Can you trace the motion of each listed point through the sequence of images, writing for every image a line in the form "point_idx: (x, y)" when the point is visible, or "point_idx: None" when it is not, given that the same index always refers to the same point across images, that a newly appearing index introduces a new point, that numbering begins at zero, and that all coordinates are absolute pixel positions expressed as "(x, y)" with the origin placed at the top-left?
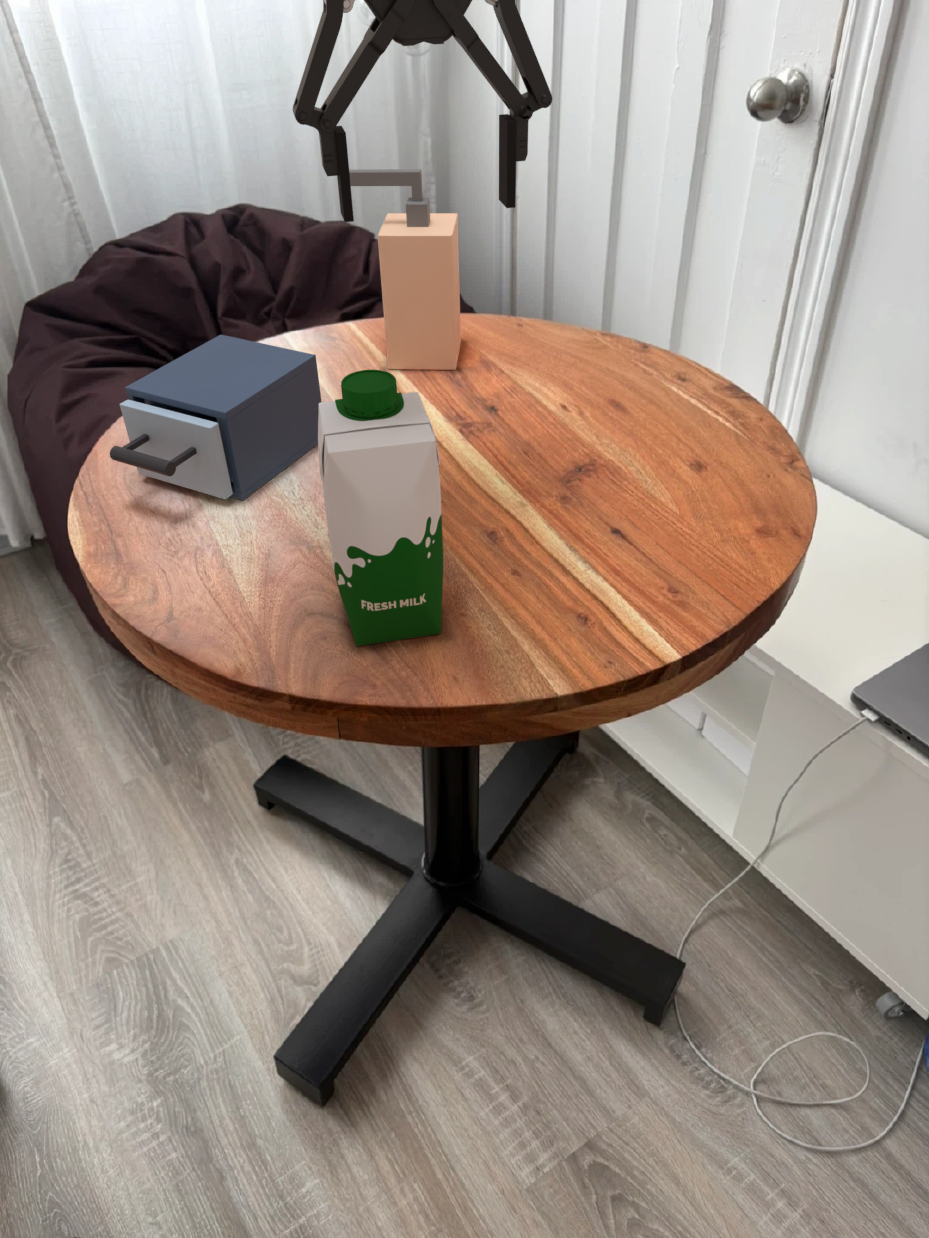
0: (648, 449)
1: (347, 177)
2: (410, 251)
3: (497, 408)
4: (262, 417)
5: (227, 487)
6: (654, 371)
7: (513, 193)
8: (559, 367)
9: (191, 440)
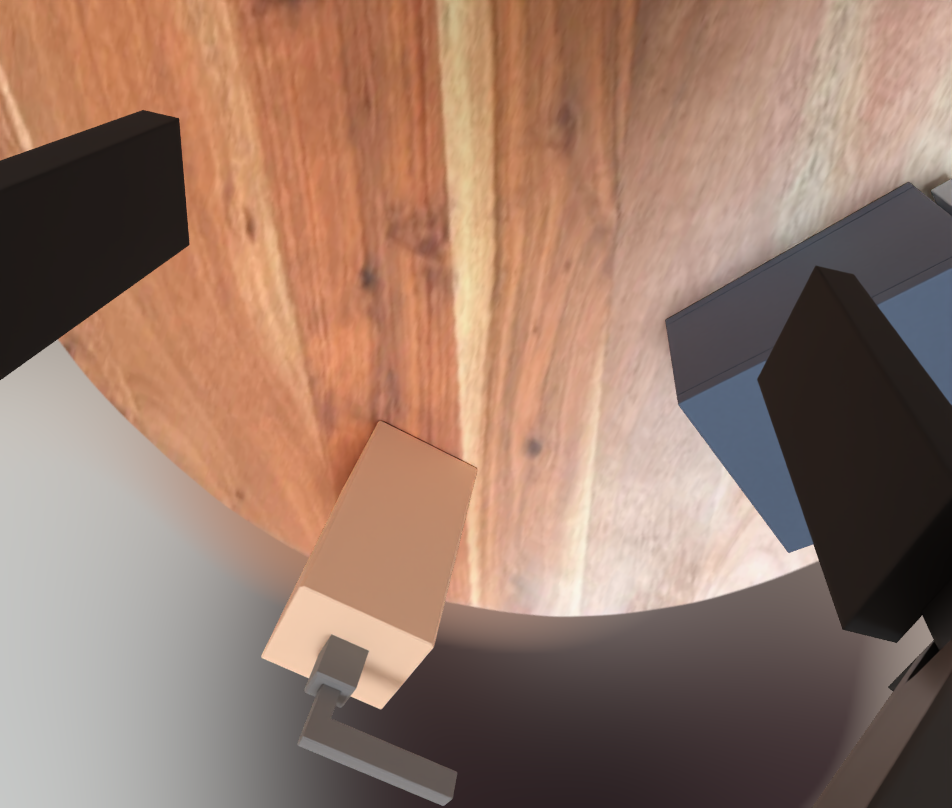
0: (145, 3)
1: (881, 355)
2: (385, 596)
3: (359, 277)
4: None
5: (950, 189)
6: None
7: (117, 123)
8: (218, 353)
9: None
